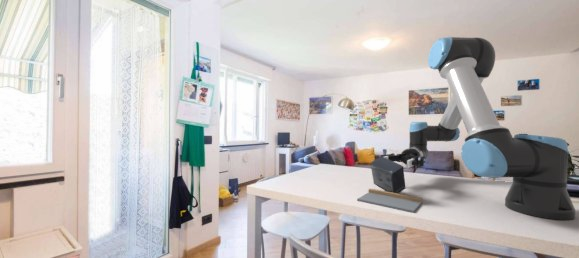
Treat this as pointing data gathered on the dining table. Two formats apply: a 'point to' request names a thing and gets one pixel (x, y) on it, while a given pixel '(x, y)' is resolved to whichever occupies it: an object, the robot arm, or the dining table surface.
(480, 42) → the robot arm
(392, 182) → the small box
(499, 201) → the dining table surface
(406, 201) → the grey mat
